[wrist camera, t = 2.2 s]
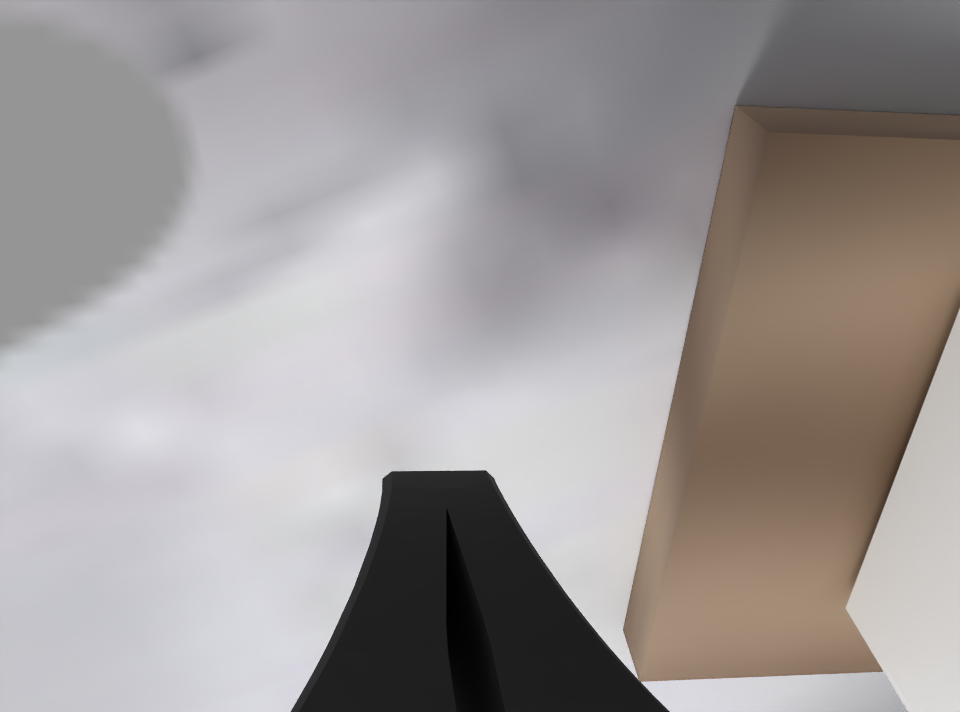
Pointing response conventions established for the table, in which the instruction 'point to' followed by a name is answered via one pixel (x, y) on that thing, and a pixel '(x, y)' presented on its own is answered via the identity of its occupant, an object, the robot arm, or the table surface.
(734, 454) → the test bench
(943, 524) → the gauge
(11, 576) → the table surface
